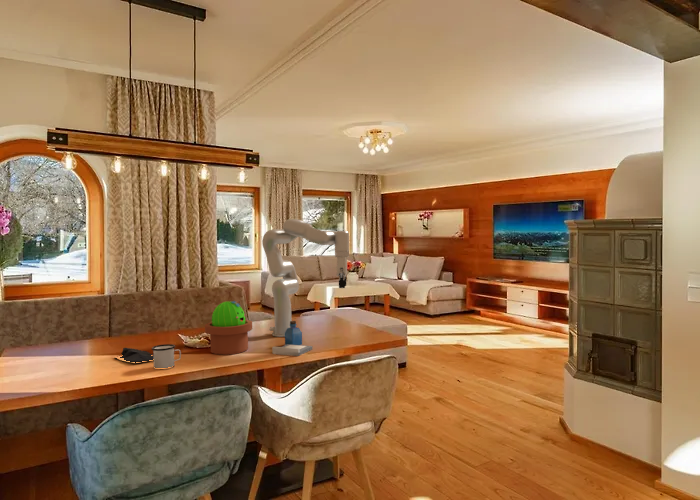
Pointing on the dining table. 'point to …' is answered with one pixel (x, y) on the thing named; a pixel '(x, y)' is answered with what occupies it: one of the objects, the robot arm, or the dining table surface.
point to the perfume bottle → (293, 335)
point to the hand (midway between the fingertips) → (342, 287)
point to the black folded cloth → (135, 355)
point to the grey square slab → (291, 350)
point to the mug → (164, 355)
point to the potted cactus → (228, 329)
